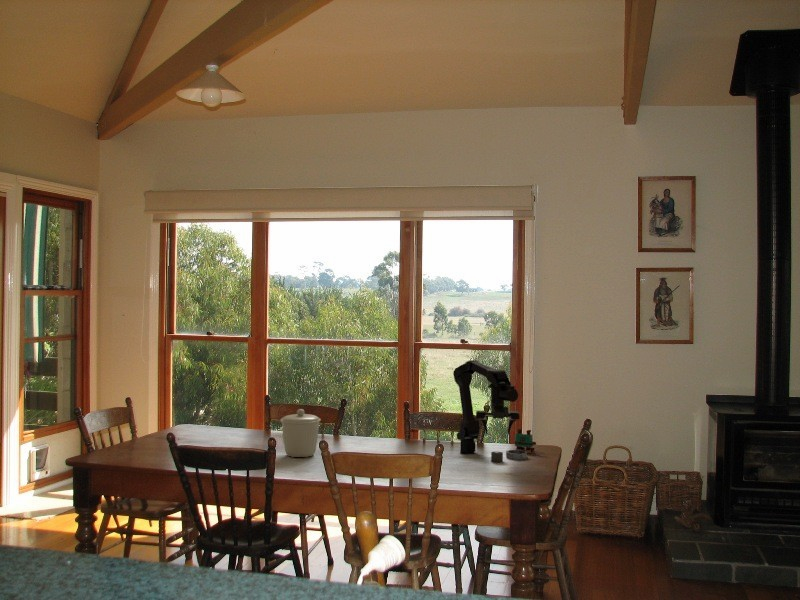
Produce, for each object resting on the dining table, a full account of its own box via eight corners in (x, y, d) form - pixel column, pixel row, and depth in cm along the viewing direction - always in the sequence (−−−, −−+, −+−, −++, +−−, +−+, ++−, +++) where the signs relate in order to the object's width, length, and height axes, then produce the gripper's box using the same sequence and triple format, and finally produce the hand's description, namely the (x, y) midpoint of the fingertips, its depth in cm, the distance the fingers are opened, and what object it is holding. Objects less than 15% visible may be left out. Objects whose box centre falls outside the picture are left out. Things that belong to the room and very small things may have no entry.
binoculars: (538, 429, 354) (531, 430, 345) (537, 451, 353) (530, 453, 345) (520, 427, 358) (513, 428, 350) (519, 449, 358) (512, 451, 349)
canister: (322, 451, 348) (322, 406, 348) (318, 460, 330) (318, 412, 329) (283, 451, 348) (283, 405, 348) (276, 460, 330) (277, 412, 330)
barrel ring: (506, 459, 333) (506, 453, 333) (505, 455, 342) (505, 449, 342) (527, 459, 332) (527, 454, 332) (525, 455, 341) (525, 450, 341)
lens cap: (491, 462, 327) (491, 453, 327) (491, 460, 332) (491, 450, 332) (503, 463, 326) (503, 453, 326) (502, 460, 331) (502, 451, 331)
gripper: (476, 401, 321) (476, 437, 322) (520, 402, 320) (520, 438, 320) (476, 397, 333) (475, 432, 333) (518, 398, 331) (518, 433, 331)
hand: (497, 434), depth 329 cm, fingers open, 9 cm apart
